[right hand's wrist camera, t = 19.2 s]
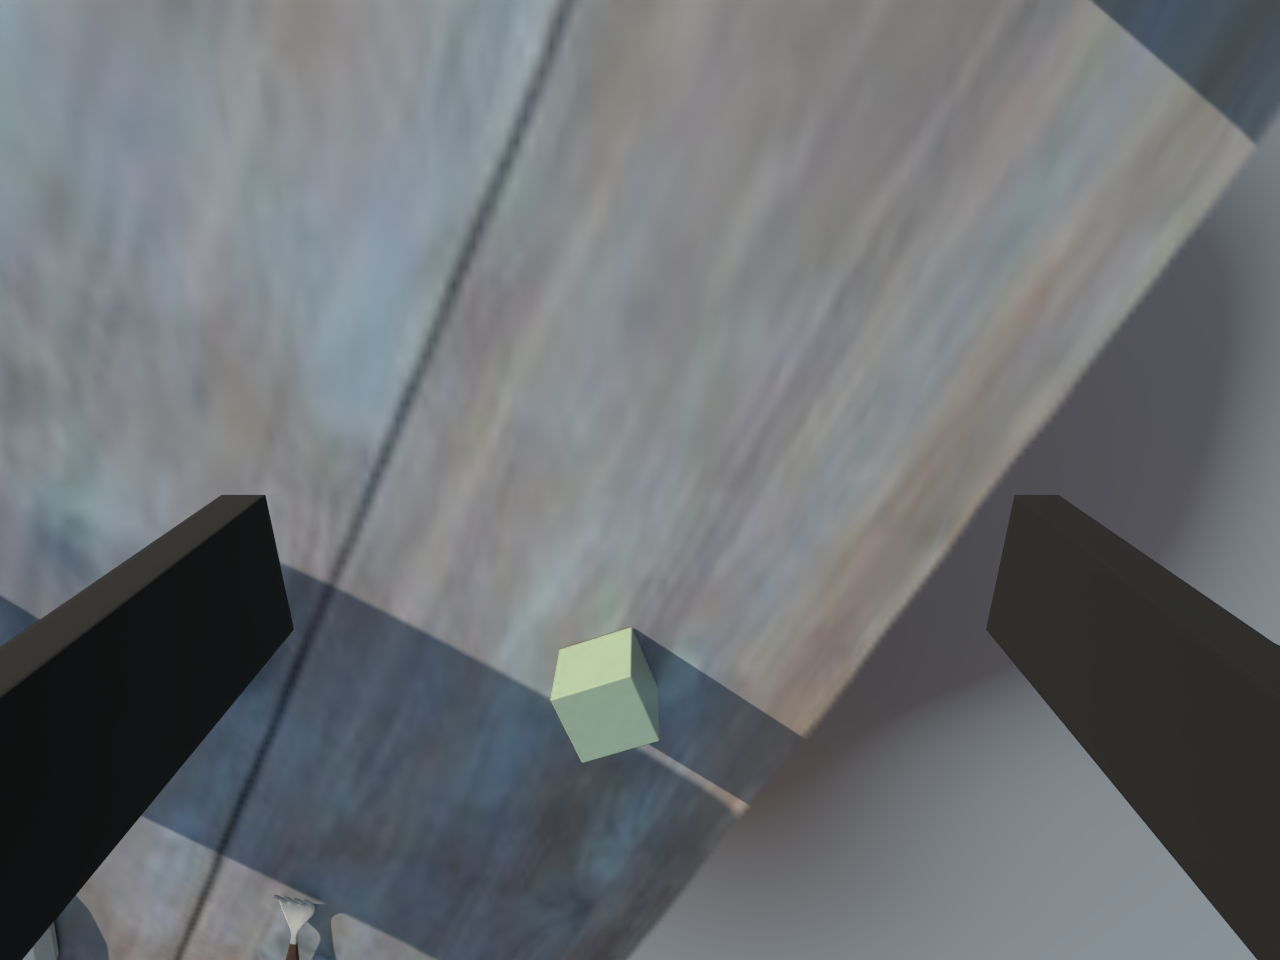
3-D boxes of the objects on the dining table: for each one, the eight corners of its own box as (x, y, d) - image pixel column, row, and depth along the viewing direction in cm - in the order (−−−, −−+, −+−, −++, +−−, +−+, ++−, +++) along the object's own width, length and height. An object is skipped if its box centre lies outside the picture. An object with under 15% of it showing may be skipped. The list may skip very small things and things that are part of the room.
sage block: (631, 626, 44) (631, 675, 40) (658, 687, 46) (660, 741, 41) (559, 648, 45) (549, 700, 40) (587, 708, 47) (581, 764, 42)
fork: (274, 1008, 57) (262, 1035, 55) (283, 871, 52) (270, 896, 50) (306, 1013, 58) (295, 1040, 56) (319, 877, 52) (307, 902, 50)
